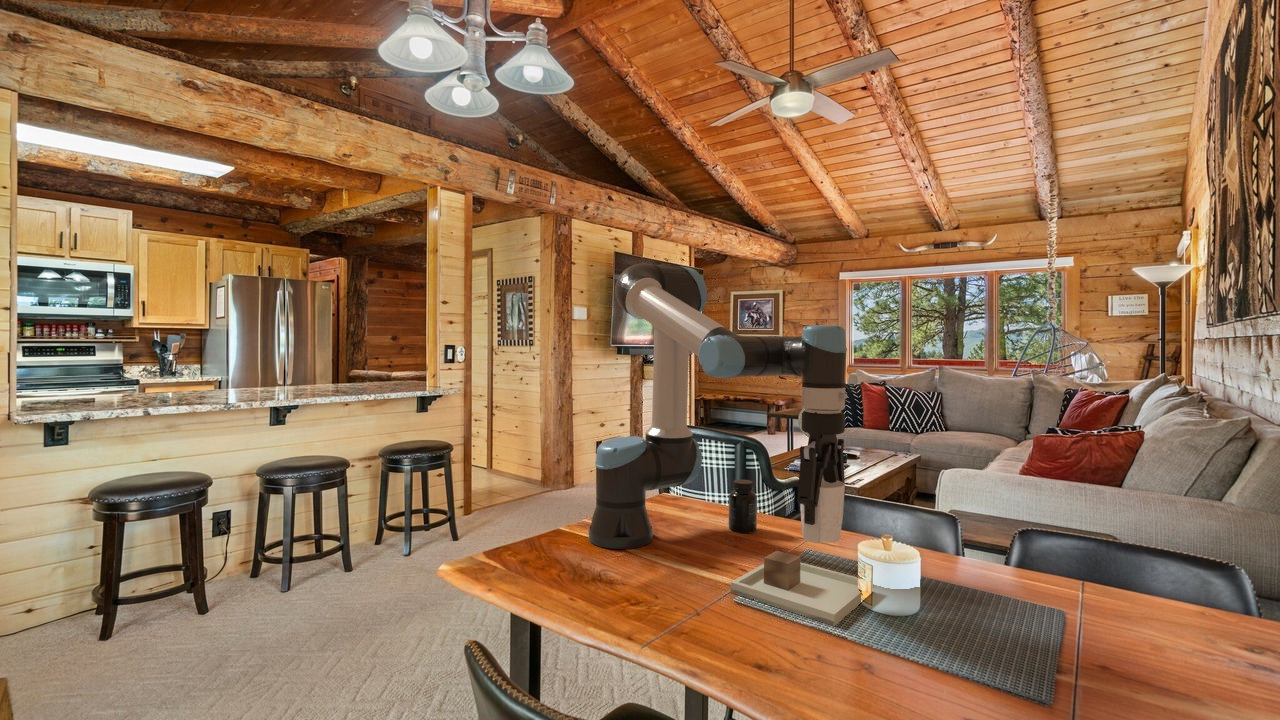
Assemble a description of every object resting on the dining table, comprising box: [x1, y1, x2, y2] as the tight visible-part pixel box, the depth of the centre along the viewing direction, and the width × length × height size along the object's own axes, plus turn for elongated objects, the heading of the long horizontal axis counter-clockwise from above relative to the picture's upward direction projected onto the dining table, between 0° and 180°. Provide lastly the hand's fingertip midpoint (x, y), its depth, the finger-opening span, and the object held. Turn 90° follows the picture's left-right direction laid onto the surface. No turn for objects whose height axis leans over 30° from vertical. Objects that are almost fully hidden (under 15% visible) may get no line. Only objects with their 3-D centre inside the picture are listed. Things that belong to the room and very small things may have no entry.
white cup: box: [799, 477, 846, 544], centre depth 111 cm, size 8×8×10 cm
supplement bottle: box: [728, 479, 758, 535], centre depth 151 cm, size 7×7×12 cm
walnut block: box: [763, 550, 802, 591], centre depth 116 cm, size 5×5×5 cm
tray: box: [730, 562, 862, 627], centre depth 114 cm, size 20×18×2 cm
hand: (821, 535), depth 111 cm, fingers closed on white cup, 7 cm apart
